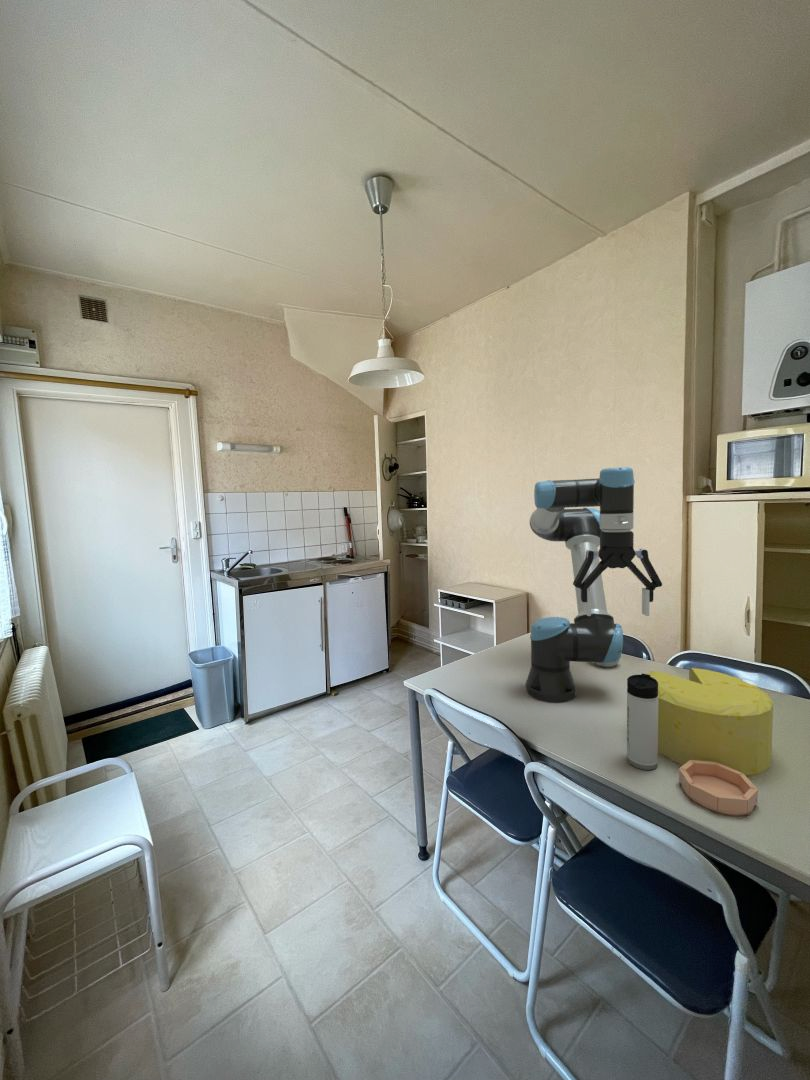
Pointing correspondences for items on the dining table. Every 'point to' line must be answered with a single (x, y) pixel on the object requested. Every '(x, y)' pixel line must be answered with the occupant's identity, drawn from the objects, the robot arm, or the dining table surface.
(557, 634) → the robot arm
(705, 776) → the bowl
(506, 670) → the dining table surface
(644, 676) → the travel mug
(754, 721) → the cheese
